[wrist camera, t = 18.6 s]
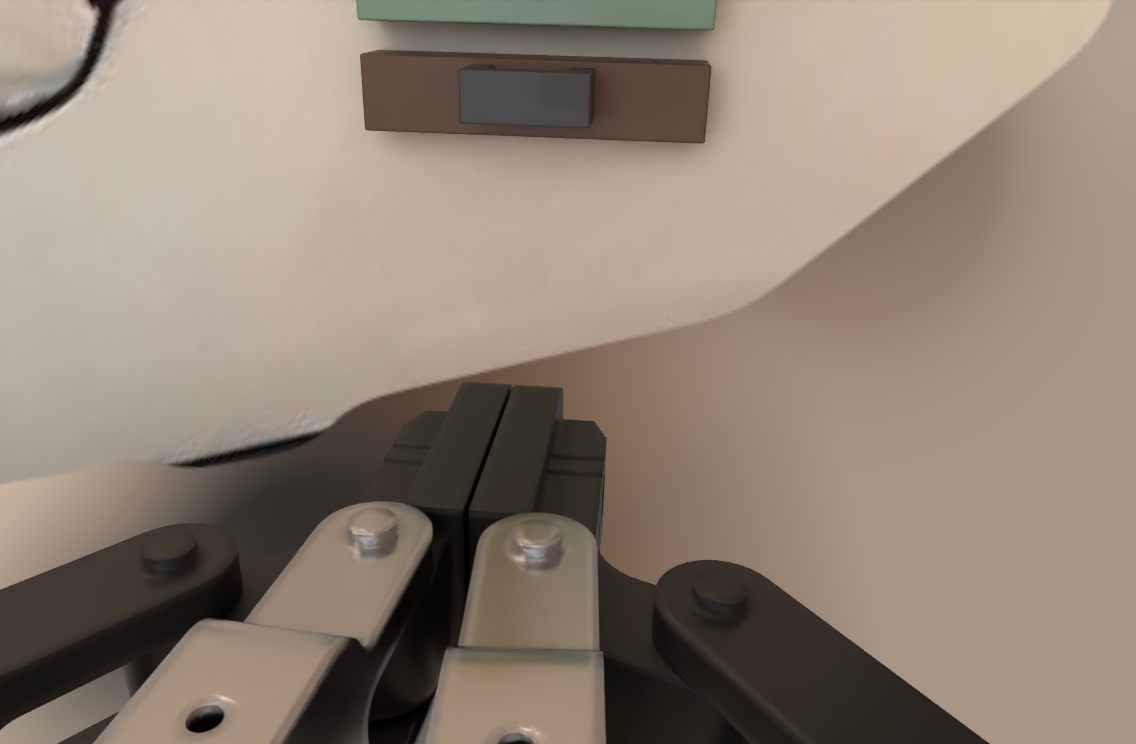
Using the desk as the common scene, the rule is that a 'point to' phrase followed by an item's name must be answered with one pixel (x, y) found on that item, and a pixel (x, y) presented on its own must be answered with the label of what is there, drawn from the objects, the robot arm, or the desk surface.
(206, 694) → the robot arm
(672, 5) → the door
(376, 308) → the desk surface
